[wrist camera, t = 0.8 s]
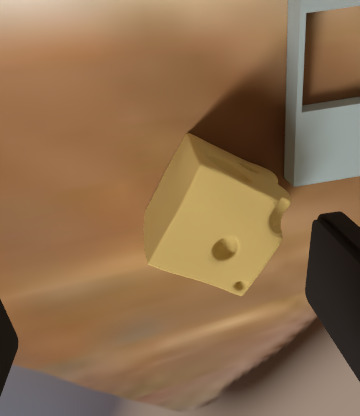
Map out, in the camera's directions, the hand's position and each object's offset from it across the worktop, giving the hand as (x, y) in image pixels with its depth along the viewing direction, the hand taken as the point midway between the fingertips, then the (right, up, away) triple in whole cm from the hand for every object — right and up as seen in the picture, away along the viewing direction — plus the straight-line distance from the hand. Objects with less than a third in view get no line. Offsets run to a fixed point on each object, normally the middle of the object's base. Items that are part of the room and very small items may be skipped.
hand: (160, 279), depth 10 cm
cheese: (+3, +4, +27) cm, 27 cm away
